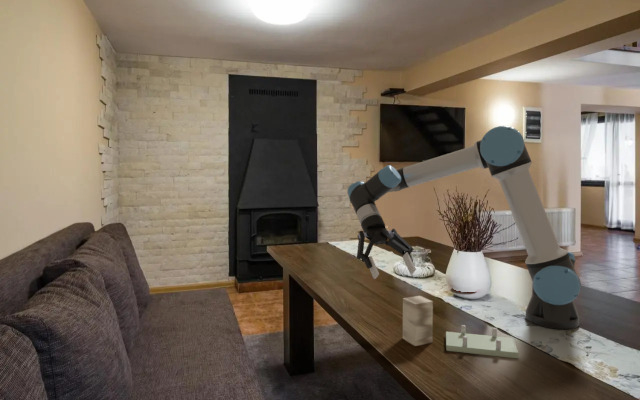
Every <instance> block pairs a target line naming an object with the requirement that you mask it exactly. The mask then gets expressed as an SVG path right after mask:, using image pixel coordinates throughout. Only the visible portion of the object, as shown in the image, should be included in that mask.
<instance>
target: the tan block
mask: <svg viewBox="0 0 640 400" xmlns="http://www.w3.org/2000/svg"><path fill="white" fill-rule="evenodd" d="M433 306H434V301H433V300H430V299H428V298H427V297H425V296H422V295H415V296H409V297H403V298H402V339H403V340H405V341H406V342H407V343H409V344H411V345H412V346H414V347H417V346H423V345H427V344H432V343H433V329H434V328H433V324H434V322H433V321H434V320H433V318H434V310H433V309H434V307H433Z"/></svg>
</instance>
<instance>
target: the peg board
mask: <svg viewBox="0 0 640 400" xmlns="http://www.w3.org/2000/svg"><path fill="white" fill-rule="evenodd" d="M466 327H467V326H466V325H465V324H461V327H460V330H461V331H460V332H455V331H445V349H446V351H447V352H456V353H465V354H472V355H483V356H492V357H493V356H494V357H501V358H510V359H511V358H512V359H519V355H520V354H519V351H518V348H517V346H516V342H515V341H514V338H513V337H507V336H498V328H497V327H492V329H491V330H492V331H491V332H492V334H491V335H487V334H486V335H485V334H475V333H466V331H467V330H466Z"/></svg>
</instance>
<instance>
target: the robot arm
mask: <svg viewBox="0 0 640 400" xmlns="http://www.w3.org/2000/svg"><path fill="white" fill-rule="evenodd" d="M532 164H533V162H532V160H531V156H530V155H529V151H528V150H527V147H526V144H525V140H524V136H523V135H522V133H521V132H520V131H519V130H517V128H514V127H512V126H509V125H498V126H496V127H493V128H491V129H490V130H488V131H487V132H486V133H484V135H482V139H481V140H477V141H475V142H474V144H473V145H471V146H468V147H465V148H462V149H459V150H455V151H452V152H450V153H446V154H442V155H440V156H437V157H433V158H430V159H426V160H423V161H421V162H417V163H414V164H411V165H408V166H404V167H402V168H398V169H397V168H395V167H393V166H392V165H390V164H389V165H388V164H387V165H386V166H384V167H383V168H381V169H380V170H378V171H377V173H375V174H374V175H373V176H372V177H370V178H369V179H368V180H366V181H365V182H364V181H363V180H362V181H361V180H359V181H356V182H352V183H351V184H350V185H349V186H348V188H347V196H348V199H349V202H350V203H351V206H352V207H353V210H354V212H355V214H356V216H357V219H358V221H359V224H360V227H361V229H362V230H359V232H358V234H357V240H358V245H357V253H356V259H357V260H361V262H362V263H364V264H365V267H366V268H367V269H369V271H370V273H371V276H372V278H373V280H375V279H377V278H378V276H379V275H380V273H379V270H378V267H377V265H376V263H375V261H374V259H373V256H372V255H370V253H371V251H372V249H373V247H374V245H376V246H377V245H378V246H379V245H386V246H389V247H390V248H392V249H394V250H395V251H396V252H398V253H399V254H400V255H402V260H403V262H404V264H405V266H406V268H407V271H408V273H409V274H410V275H414V273H415V271H416V270H417V268H416V266H415V264H414V259H413V256H412V255H411V254H412V252H413V251H414V247H413V246H411V245H410V244H409V242H407V241H406V240H405V239H404V238H403V237H401V235H399V233H398V232H397V230H396V229H395V228H392V229H391V230H388V229H387V228H386V224H385V221H384V219H383V217H382V216H381V213H380V211H379V209H378V207H377V204H376V202H377V201H379V199H381V198H382V197H384V196H385V195H386V194H388V193H392V192H400V191H402V190H404V189H408V188H410V187H414V186H418V185H421V184H424V183H425V184H426V183H429V182H432V181H436V180H438V179H439V180H440V179H443V178H446V177H449V176H453V175H456V174H461V173H463V172H468V171H471V170H474V169H478V168H480V169H483V170H485V169H488V170H489V173H490V175H491V177H492V178H494V179H496V180H498V181H499V184H500V187H501V188H502V191H503V194H504V197H505V199H506V201H507V204H508V207H509V209H510V211H511V215H512V217H513V219H514V222H515V225H516V228H517V230H518V232H519V235H520V237H521V240H522V243H523V244H524V245H523V246H524V248H525V250H526V253H527V257H526V258H525V261H524V263H525V265H526V268H527V272H528V274H529V275H530V279H531V281H532V287H531V288H532V289H531V290H532V291H531V292H532V293H531V298H530V299H529V302H528V304H527V307H526V309H525V319H526V320H527V321H528V322H529V323H532V324H535V325H537V326H541V327H545V328H549V329H555V330H557V329H558V330H572V329H576V328H578V327H579V325H580V317H579V313H578V310H577V307H576V305H575V302H574V300H576V299H577V298H578V296H579V294H580V291H581V287H582V283H581V279H580V278H579V277H580V276H578V275H577V272H576V266H575V265H576V264H575V263H576V258H575V257H576V256H575V254H574V253H573V252H571V251H568V250H567V249H565V248H562V247H560V245H559V242H558V240H557V238H556V235H555V232H554V230H553V228H552V225H551V222H550V220H549V218H548V215H547V212H546V209H545V207H544V205H543V202H542V200H541V198H540V195H539V191H538V190H537V187H536V185H535V183H534V180H533V177H532V175H531V172H530V167H531V166H532ZM365 238H366V239H367V240H368V241H369V242H368V244H367V246H366V249H364V248H365ZM364 250H365V252H364Z"/></svg>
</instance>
